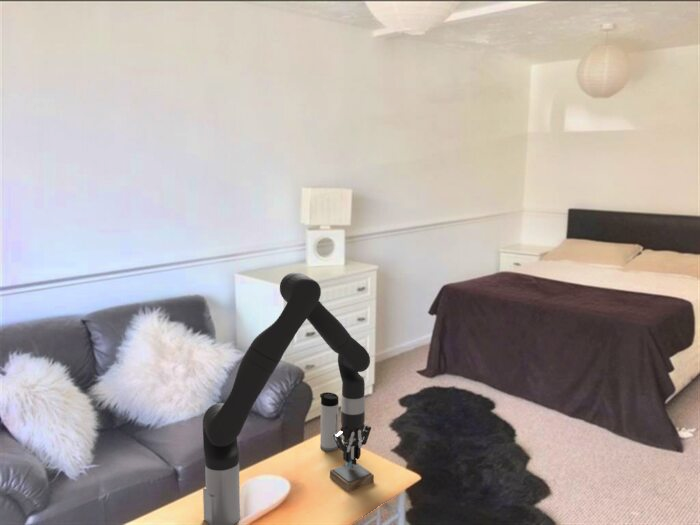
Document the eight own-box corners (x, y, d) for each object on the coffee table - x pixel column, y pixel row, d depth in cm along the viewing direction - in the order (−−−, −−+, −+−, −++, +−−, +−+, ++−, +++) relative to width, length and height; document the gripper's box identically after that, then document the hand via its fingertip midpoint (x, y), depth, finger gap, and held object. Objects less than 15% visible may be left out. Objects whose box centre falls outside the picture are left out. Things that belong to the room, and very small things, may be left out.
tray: (348, 492, 173) (348, 483, 173) (329, 477, 181) (330, 468, 181) (373, 481, 179) (373, 473, 179) (354, 468, 187) (354, 460, 187)
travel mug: (317, 444, 203) (318, 391, 200) (335, 441, 205) (335, 389, 202) (321, 452, 197) (322, 398, 194) (339, 450, 199) (340, 396, 196)
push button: (362, 470, 177) (363, 440, 175) (346, 472, 175) (346, 442, 174) (355, 459, 183) (356, 431, 182) (339, 462, 181) (340, 433, 180)
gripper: (341, 418, 169) (340, 471, 172) (377, 407, 177) (376, 458, 180) (327, 409, 175) (326, 461, 178) (363, 399, 183) (362, 448, 186)
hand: (351, 459), depth 179 cm, fingers closed on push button, 3 cm apart
